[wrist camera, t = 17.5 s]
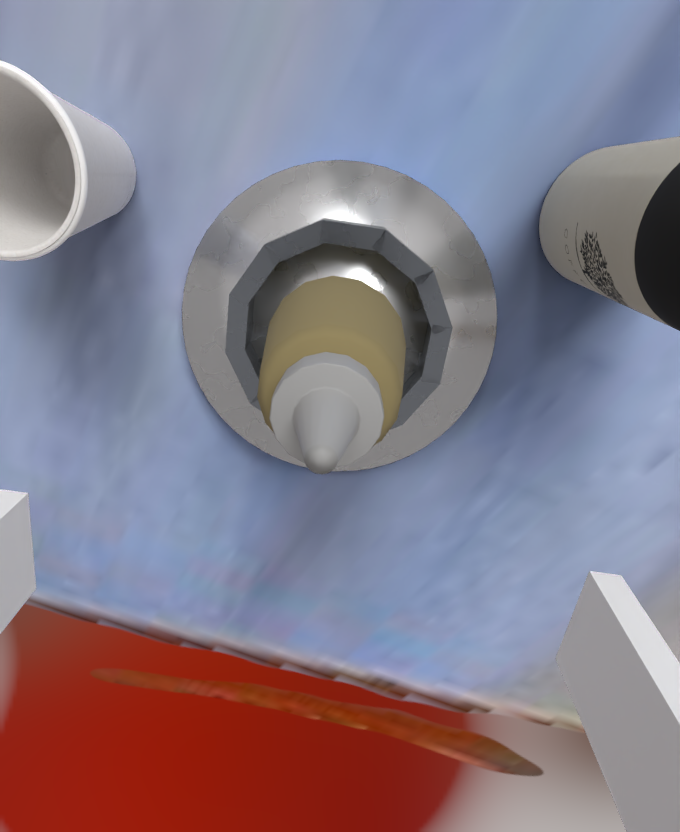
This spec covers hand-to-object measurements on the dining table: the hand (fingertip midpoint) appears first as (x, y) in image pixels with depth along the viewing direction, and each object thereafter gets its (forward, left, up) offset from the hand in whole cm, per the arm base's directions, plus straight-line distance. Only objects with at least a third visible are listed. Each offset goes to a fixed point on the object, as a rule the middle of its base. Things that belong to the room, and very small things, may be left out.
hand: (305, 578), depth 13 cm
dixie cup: (-7, -16, -26) cm, 32 cm away
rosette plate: (0, 0, -26) cm, 26 cm away
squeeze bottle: (0, 0, -25) cm, 25 cm away
